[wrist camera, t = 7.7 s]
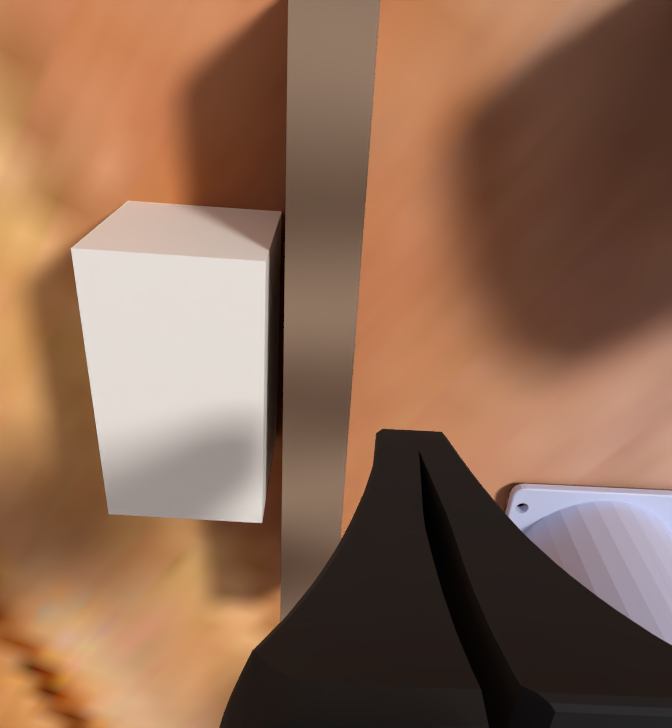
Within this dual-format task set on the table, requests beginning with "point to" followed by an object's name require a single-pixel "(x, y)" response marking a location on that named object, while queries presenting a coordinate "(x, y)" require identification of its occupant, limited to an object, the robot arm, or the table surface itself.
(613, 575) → the robot arm
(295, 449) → the board
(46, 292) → the table surface
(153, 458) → the block
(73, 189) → the table surface
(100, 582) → the table surface
